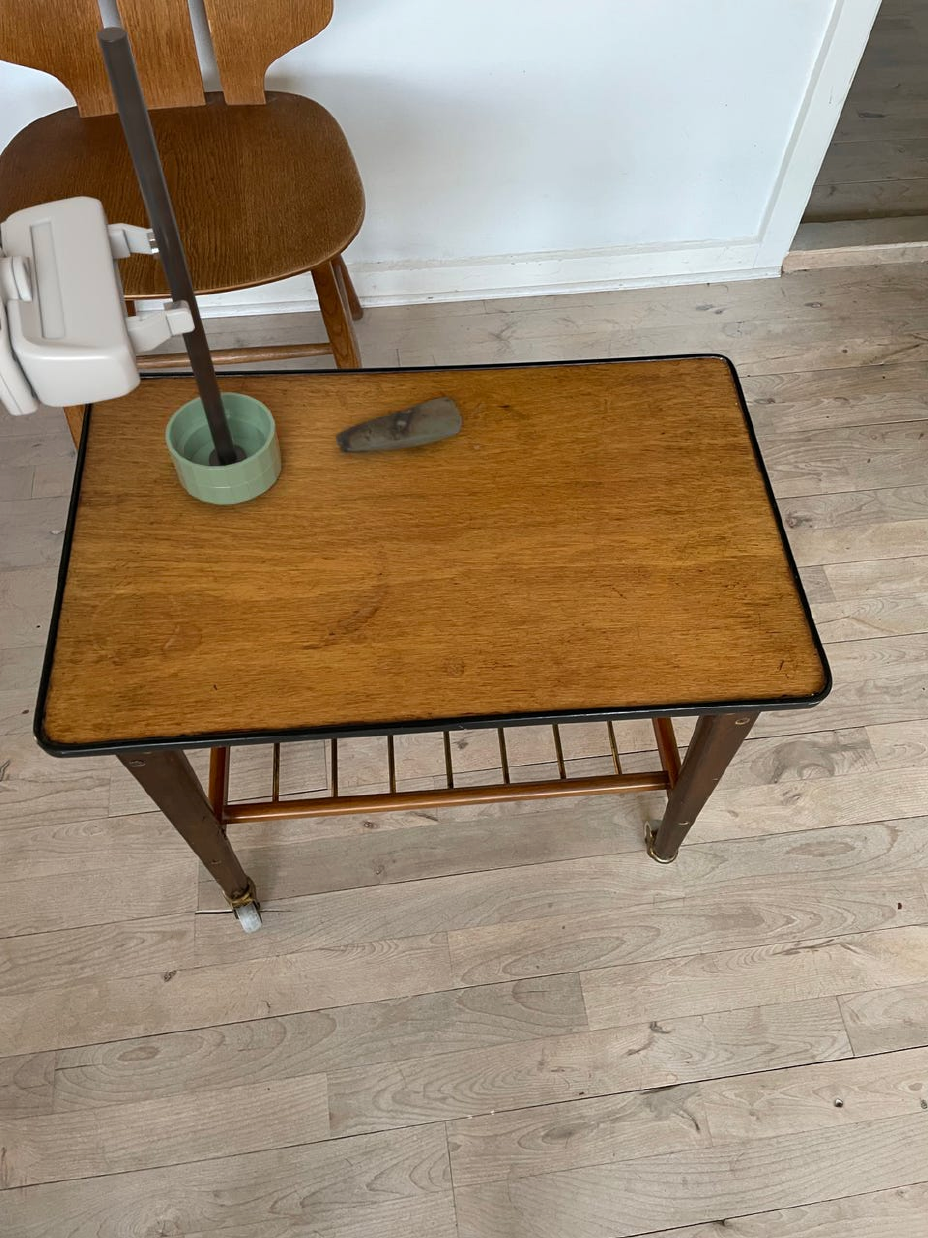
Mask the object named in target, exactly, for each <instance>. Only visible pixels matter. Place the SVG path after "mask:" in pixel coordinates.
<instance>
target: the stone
mask: <svg viewBox="0 0 928 1238" xmlns="http://www.w3.org/2000/svg"><path fill="white" fill-rule="evenodd" d="M462 427H463V417H462V416H461V414H460V410H459V408H457V407H456V402H455V401H454V400H453V399H452V398H450V397H447V396H446V397H445V396H444V397H440V398H435V399H432V400H428V401H425V402H421V403H418V404H415V405H412V406H411V407H409V408H407V409H404V410H399V411H396V412H393V413H389V414H386V415H382V416H378V417H374V418H372V419H368V420H366V421H363V422H361V423H358V424H356V425H353V426H351V427H349V428H347V429H345V430H343V431H342V432H340V433H339V434H337V435H336V436H335V439H336V444H337V445H338V447H339V449H340V451H341V452H343V453H347V454H350V453H352V454H355V453H358V454H360V453H361V454H362V453H374V452H375V453H376V452H383V451H384V452H385V451H391V450H398V449H407V448H413V447H414V448H415V447H419V446H424V445H427V444H432V443H435V442H438V441H442V440H445V439H448V438H450V437H453V436H455V435H457V434H459V433H460V431H461V429H462Z"/></svg>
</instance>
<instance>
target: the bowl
mask: <svg viewBox="0 0 928 1238" xmlns="http://www.w3.org/2000/svg"><path fill="white" fill-rule="evenodd" d="M220 393H221V397H222V401H223V405H224V409H225V413H226V416H227V420H228V424H229V428H230V432H231V436H232V440H233V443H234V445H238V446H240V447H241V448H242V449H243V450H244V451H245V453H246V456H247V459H245V460H243V461H242V462H238V463H235V464H231V465H227V466H210V464H209V455H210V453H211V452H212V451H213V450H214V449H215V447H214V443H213V440H212V436H211V433H210V429H209V426H208V422H207V419H206V415H205V412H204V408H203V405H202V402H201V398H200V396H198V397H196V398H194V399H191V400H190V401H188V402H186V403H184V404H182V405H181V406H180V407H179V408H178V409H177V410H176V411H175V412H174V413H173V414H172V415H171V417H170V419H169V421H168V422H167V424H166V428H165V434H164V439H165V442H166V445H167V449H168V451H169V454H170V457H171V460H172V463H173V465H174V469H175V471H176V475H177V476H178V480H179V484H180V485H181V486H182V488H184V490H185V491H186V492H187V493H188V494H189V495H190V496H192V497H194V498H196V499H198V500H199V501H201V502H204V503H208V504H214V505H222V506H223V505H236V504H240V503H243V502H248V501H251V500H253V499H255V498H258V497H259V496H261V495H262V494H264V493H265V492H267V491H268V490H269V489H270V488H271V487H272V486H273V485H274V484H275V483H276V481H277V479H278V477H279V475H280V474H281V471H282V459H283V458H282V452H281V447H280V441H279V437H278V432H277V426H276V421H275V418H274V417H273V414H272V412H271V410H270V409H268V407H267V406H266V405H265V404H264V403H262V401H261V400H258V399H256V398H254V397H252V396H250V395H247V394H244V393H243V394H242V393H237V392H233V391H232V392H231V391H230V392H229V391H227V392H225V391H224V392H220Z"/></svg>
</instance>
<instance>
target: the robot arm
mask: <svg viewBox="0 0 928 1238" xmlns="http://www.w3.org/2000/svg"><path fill="white" fill-rule="evenodd" d="M102 203H103V202H101V201H100V200H99V199H98V198H94V197H89V196H85V195H83V196H74V197H69V198H64V199H60V200H54V201H50V202H46V203H42V204H38V205H34V206H30V207H27V208H23V209H20V210H17V211H15V212H14V213H12V214H10V215H9V216H8V217H7V218H6V220H4V221H2V222H1V223H0V401H1V402H2V404H3V406H4V407H5V409H6V410H7V412H8V413H10V414H11V415H12V416H24V415H29V414H33V413H35V412H37V411H38V410H39V409H40V405H41V403H42V404H43V405H46V406H48V407H53V408H66V407H75V406H81V405H87V404H88V405H89V404H93V403H99V402H104V401H107V400H113V399H118V398H121V397H123V396H124V397H125V396H126V395H128V394H129V393H131V392H133V390H135V389H136V388H137V387H138V386H139V385H141V376H140V370H139V366H138V365H139V364H138V361H137V356H136V354H140V353H145V352H151V351H153V350H154V349H155V348H157V347H158V346H160V345H162V344H163V343H164V342H166V341H167V340H169V339H170V338H171V337H172V336H175V335H182V333H187V332H191V331H193V330H194V328H195V326H194V322H193V318H192V314H191V311H190V307H189V304H188V302H187V301H184V300H179V301H177V302H173V301H168V302H163V303H162V304H163V309H162V310H161V311H158V312H157V313H155V314H151V315H150V316H148V317H145V318H144V319H143V318H142V315H133V316H129V315H128V314H129V313H128V310H127V304H126V299H125V294H124V293H125V292H124V288H123V284H122V279H121V274H120V269H119V263H118V260H119V259H126V258H131V253H134V254H135V253H136V254H144V255H152V256H153V259H154V261H157V260H161V258H160V255H159V251H158V248H157V244H156V241H155V237H154V234H153V231H152V228H145V227H141V226H137V225H132V224H128V223H124V222H118V223H113V224H112V223H111V224H110V223H109V221H108V217H107V214H106V212H105V209H104V206H103V204H102Z"/></svg>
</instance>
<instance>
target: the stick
mask: <svg viewBox="0 0 928 1238" xmlns="http://www.w3.org/2000/svg"><path fill="white" fill-rule="evenodd" d="M96 38H97V42H98V45H99V49H100V52H101V56H102V59H103V63H104V66H105V70H106V74H107V77H108V80H109V83H110V87H111V90H112V94H113V97H114V101H115V104H116V108H117V112H118V115H119V119H120V122H121V125H122V129H123V132H124V136H125V140H126V143H127V147H128V150H129V153H130V157H131V160H132V163H133V167H134V171H135V175H136V179H137V181H138V185H139V189H140V192H141V195H142V199H143V202H144V206H145V209H146V213H147V217H148V220H149V224H150V227H151V229H152V231H153V234H154V237H155V241H156V244H157V248H158V251H159V255H160V258H161V259H160V261H161V265H162V269H163V272H164V276H165V279H166V282H167V286H168V290H169V293H170V296H171V300H172V302H177V301H179V300H184V301H187V302H188V304H189V307H190V311H191V314H192V318H193V322H194V326H195V328H194V330H193V331H191V332H187V333H181V335H182V338H183V342H184V345H185V350H186V353H187V357H188V360H189V363H190V367H191V369H192V373H193V377H194V380H195V384H196V387H197V391H198V393H199V397H200V398H201V402H202V405H203V408H204V412H205V415H206V419H207V422H208V426H209V429H210V433H211V436H212V440H213V443H214V447H215V449H214V450H213V451H212V452H211V453H210V455H209V464H210V466H227V465H231V464H235V463H238V462H242V461H243V460H245V459H247V456H246V453H245V451H244V450H243V449H242V448H241V447H240V446H238V445H234V443H233V440H232V436H231V432H230V428H229V424H228V420H227V416H226V413H225V409H224V405H223V401H222V397H221V393H222V392H221V390H220V385H219V382H218V378H217V375H216V370H215V367H214V363H213V359H212V355H211V351H210V348H209V343H208V340H207V335H206V333H205V332H206V331H205V328H204V324H203V320H202V316H201V313H200V309H199V305H198V301H197V297H196V293H195V289H194V285H193V282H192V278H191V274H190V270H189V266H188V262H187V258H186V255H185V251H184V247H183V244H182V239H181V235H180V231H179V228H178V223H177V219H176V215H175V212H174V208H173V205H172V200H171V196H170V193H169V189H168V186H167V182H166V177H165V174H164V169H163V166H162V162H161V158H160V153H159V151H158V146H157V143H156V138H155V135H154V131H153V127H152V123H151V120H150V115H149V112H148V108H147V103H146V100H145V96H144V92H143V88H142V84H141V81H140V76H139V73H138V68H137V65H136V61H135V57H134V54H133V50H132V46H131V42H130V38H129V34H128V32H127V30H125V29H124V28H122V27H118V26H109V27H105V28H102V29H99V31H97V33H96Z"/></svg>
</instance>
